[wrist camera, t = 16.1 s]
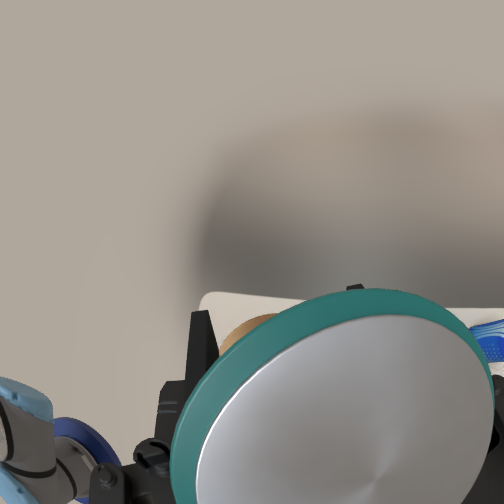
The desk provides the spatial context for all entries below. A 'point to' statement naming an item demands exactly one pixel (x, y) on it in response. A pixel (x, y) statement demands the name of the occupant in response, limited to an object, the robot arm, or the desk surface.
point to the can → (340, 408)
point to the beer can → (490, 340)
